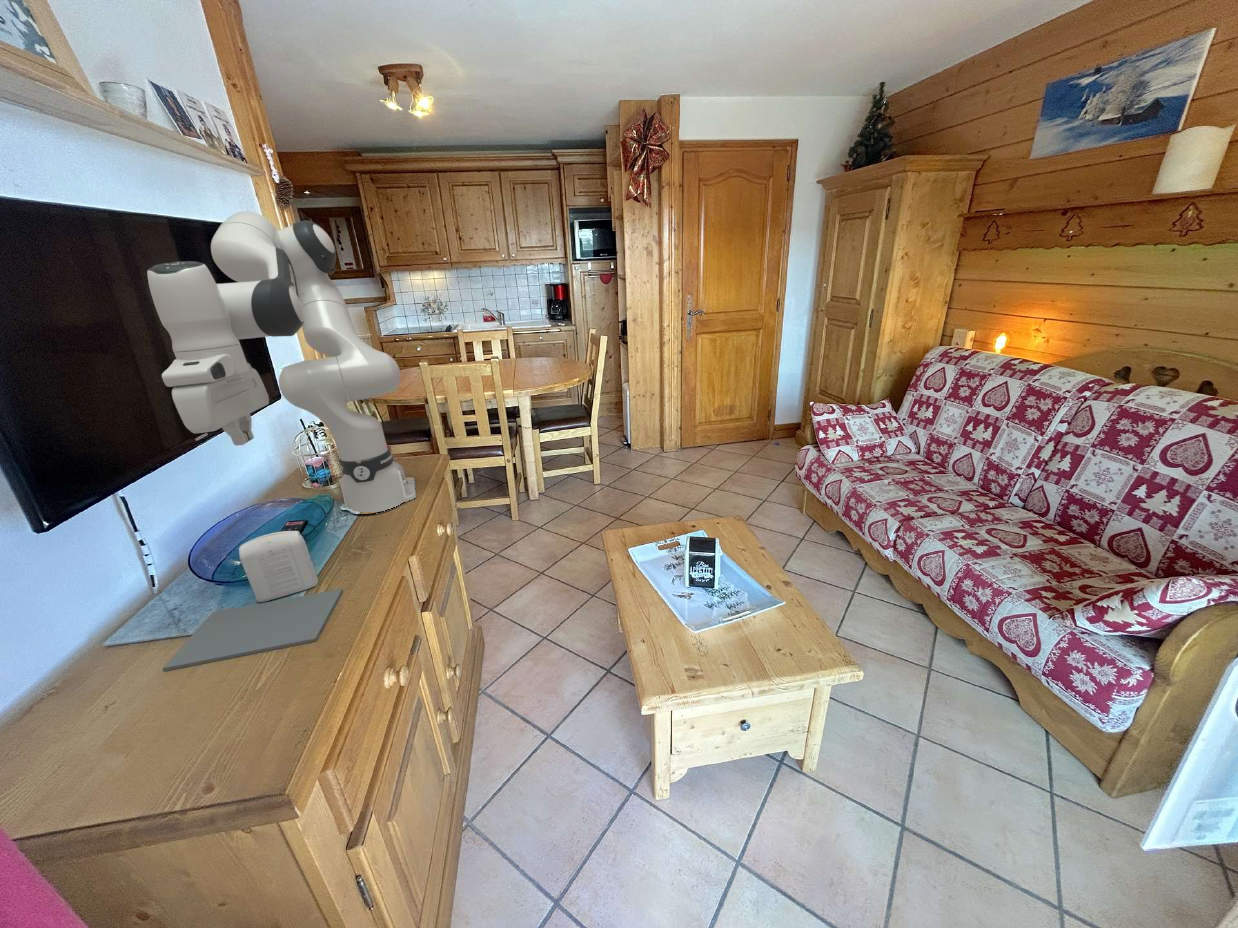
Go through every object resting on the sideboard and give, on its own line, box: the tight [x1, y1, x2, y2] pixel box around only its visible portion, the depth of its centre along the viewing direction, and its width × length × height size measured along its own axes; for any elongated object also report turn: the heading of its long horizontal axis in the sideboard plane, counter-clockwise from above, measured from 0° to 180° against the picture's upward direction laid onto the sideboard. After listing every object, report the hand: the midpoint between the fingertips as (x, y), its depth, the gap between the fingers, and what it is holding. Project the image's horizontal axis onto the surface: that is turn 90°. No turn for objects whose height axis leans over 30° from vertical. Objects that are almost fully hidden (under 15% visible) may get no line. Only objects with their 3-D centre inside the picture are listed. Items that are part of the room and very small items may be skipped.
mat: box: [162, 588, 344, 672], centre depth 83 cm, size 14×22×1 cm, turn 102°
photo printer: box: [238, 530, 319, 603], centre depth 91 cm, size 10×4×12 cm, turn 119°
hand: (244, 442), depth 86 cm, fingers closed
